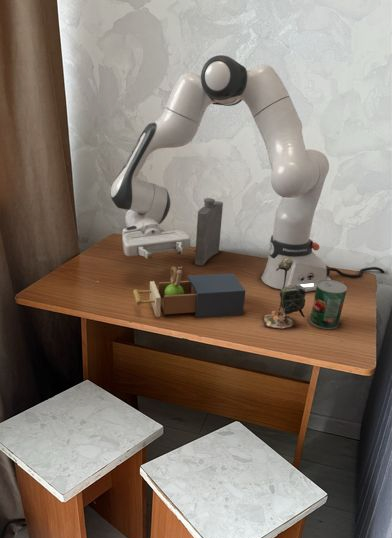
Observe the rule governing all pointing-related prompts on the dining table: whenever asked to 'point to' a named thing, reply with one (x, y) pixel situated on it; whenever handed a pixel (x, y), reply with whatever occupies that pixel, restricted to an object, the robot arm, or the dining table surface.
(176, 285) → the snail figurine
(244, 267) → the dining table surface
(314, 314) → the canned tomato
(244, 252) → the dining table surface
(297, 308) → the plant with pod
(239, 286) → the cabinet
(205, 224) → the hip flask
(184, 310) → the drawer
